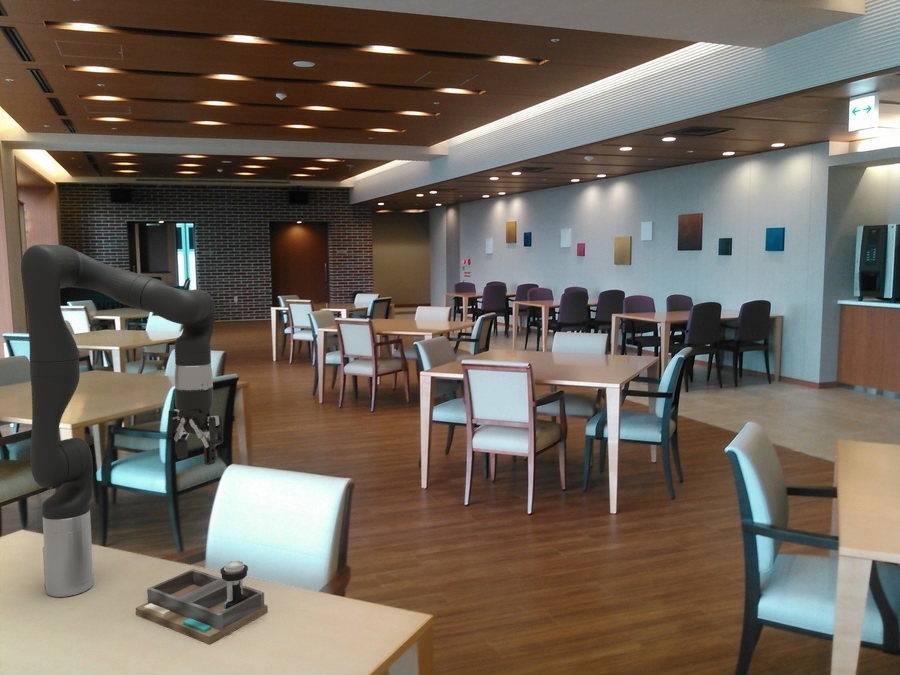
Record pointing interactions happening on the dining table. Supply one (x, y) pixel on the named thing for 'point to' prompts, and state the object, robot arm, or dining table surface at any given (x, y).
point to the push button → (234, 582)
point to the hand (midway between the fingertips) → (196, 461)
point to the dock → (200, 606)
